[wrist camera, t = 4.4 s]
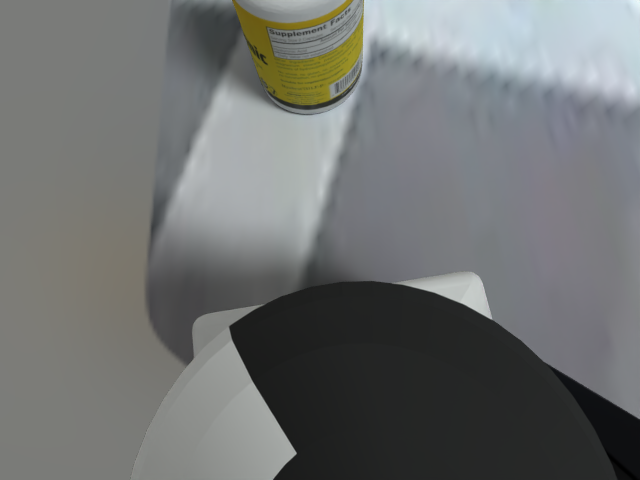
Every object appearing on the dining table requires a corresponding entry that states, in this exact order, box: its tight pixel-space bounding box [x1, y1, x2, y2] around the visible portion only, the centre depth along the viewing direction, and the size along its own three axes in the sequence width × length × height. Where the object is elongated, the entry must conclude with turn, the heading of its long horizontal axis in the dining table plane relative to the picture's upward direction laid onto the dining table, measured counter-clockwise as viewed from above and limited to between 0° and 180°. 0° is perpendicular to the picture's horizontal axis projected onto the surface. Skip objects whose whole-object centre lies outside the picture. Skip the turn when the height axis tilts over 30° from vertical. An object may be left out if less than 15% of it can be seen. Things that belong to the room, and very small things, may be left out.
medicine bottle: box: [130, 271, 617, 480], centre depth 10 cm, size 7×7×12 cm
